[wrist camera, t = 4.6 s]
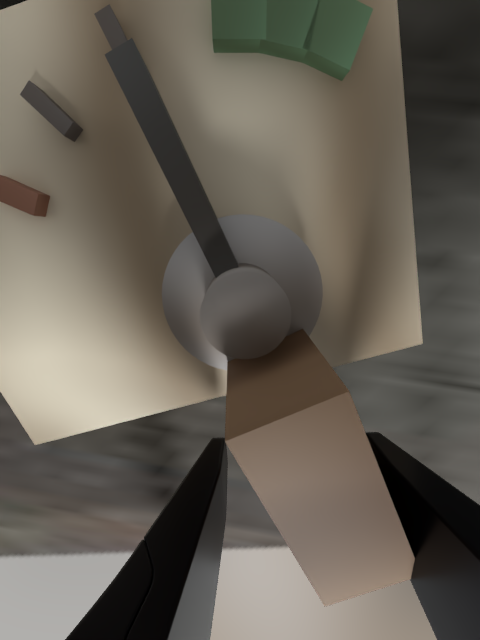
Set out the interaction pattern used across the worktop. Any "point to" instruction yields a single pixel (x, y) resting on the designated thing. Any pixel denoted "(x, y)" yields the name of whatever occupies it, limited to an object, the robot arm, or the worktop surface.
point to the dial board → (215, 176)
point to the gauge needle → (272, 371)
